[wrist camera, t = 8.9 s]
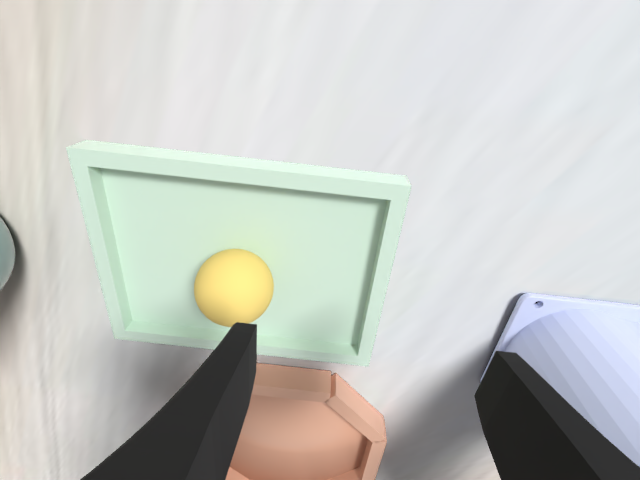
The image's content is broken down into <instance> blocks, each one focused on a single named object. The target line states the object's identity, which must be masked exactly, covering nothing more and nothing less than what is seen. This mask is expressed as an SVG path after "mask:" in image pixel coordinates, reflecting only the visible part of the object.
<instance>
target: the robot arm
mask: <svg viewBox="0 0 640 480" xmlns="http://www.w3.org/2000/svg"><path fill="white" fill-rule="evenodd" d="M537 301H539V302H538V303H536V304H534V303H535V302H537ZM256 358H257V324H249V323H240V322H236V323H235V324H233V326H232V327H231V328H230V330H229V331H228V333H227V334H226V335H225V337H224V338H223V339H222V341H221V342H220V343H219V345H218V346H217V347H216V348H215V350H214V351H213V352H212V353H211V355H210V356H209V357H208V358H207V359H206V361H205V362H204V363H203V364H202V365H201V366H200V368H199V369H198V370H197V371H196V372H195V373H194V375H193V376H192V377H191V378H190V379H189V380H188V381H187V382H186V384H185V385H184V386H183V387H182V388H181V389H180V390H179V391H178V392H177V393H176V394H175V395H174V396H173V397H172V398H171V399H170V400H169V401H168V402H167V403H166V405H165V406H164V407H163V408H162V409H161V410H160V411H158V412H157V413H156V414H155V415H154V416H153V417H152V418H151V419H150V420H149V421H148V422H147V423H146V424H145V425H144V426H143V427H142V428H141V429H140V430H138V431H137V432H136V433H135V434H134V435H133V436H132V437H131V438H130V439H129V440H127V441H126V442H125V443H124V444H123V445H122V446H120V447H119V448H118V449H117V450H116V451H115V452H113V453H112V454H111V455H110V456H109V457H108V458H106V459H105V460H104V461H103V462H102V463H100V464H99V465H98V466H97V467H96V468H94V469H93V470H92V471H91V472H89V473H88V474H87V475H86V476H84V477H83V478H82V479H81V480H225V479H226V476H227V473H228V470H229V467H230V464H231V461H232V457H233V454H234V451H235V448H236V445H237V442H238V439H239V436H240V433H241V430H242V426H243V423H244V420H245V417H246V414H247V411H248V407H249V404H250V399H251V395H252V390H253V385H254V380H255V376H256ZM475 400H476V404H477V409H478V413H479V417H480V421H481V425H482V429H483V432H484V435H485V438H486V440H487V443H488V446H489V449H490V451H491V454H492V457H493V459H494V462H495V465H496V467H497V470H498V473H499V475H500V478H501V480H640V305H634V304H625V303H616V302H607V301H598V300H589V299H580V298H571V297H562V296H553V295H544V294H535V293H526V294H523V295H522V296H520V298H519V299H518V301H517V303H516V306H515V308H514V310H513V312H512V314H511V316H510V318H509V320H508V322H507V325H506V327H505V329H504V331H503V333H502V335H501V337H500V339H499V341H498V344H497V346H496V348H495V350H494V352H493V354H492V356H491V358H490V360H489V363H488V365H487V367H486V369H485V371H484V373H483V375H482V377H481V379H480V385H479V387H478V389H477V391H476V394H475Z"/></svg>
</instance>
